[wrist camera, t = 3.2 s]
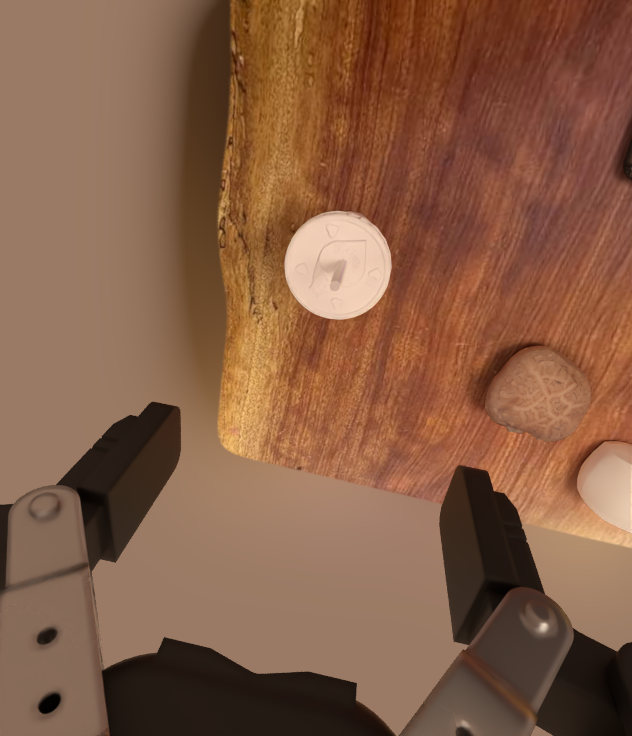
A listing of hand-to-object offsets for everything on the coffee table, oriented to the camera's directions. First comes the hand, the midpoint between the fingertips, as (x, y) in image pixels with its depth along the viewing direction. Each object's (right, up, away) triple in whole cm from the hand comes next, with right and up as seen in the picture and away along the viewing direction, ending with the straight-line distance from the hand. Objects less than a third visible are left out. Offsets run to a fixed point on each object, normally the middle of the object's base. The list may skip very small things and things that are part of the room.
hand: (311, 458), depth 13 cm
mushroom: (+18, +1, +26) cm, 32 cm away
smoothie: (+3, +13, +22) cm, 26 cm away
